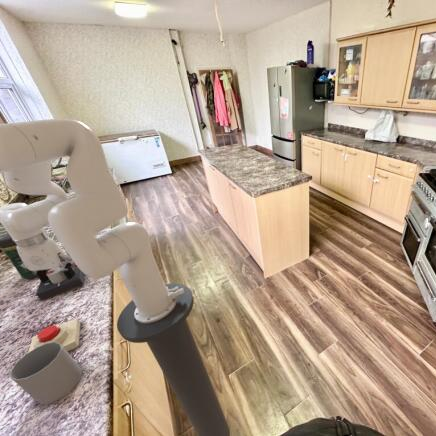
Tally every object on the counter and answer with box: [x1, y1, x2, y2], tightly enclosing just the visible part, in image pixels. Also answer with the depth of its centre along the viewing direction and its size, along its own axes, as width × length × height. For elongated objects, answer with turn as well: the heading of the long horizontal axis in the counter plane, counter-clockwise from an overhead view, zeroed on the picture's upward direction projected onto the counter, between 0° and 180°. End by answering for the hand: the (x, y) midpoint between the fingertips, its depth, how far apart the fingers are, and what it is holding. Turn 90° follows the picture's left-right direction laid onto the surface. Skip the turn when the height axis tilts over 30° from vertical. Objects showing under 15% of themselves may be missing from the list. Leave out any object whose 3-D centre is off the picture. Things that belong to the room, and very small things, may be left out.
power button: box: [37, 324, 60, 342], centre depth 64 cm, size 4×4×2 cm
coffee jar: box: [0, 232, 48, 280], centre depth 92 cm, size 10×8×19 cm
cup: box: [9, 342, 83, 406], centre depth 54 cm, size 8×8×10 cm
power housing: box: [27, 317, 81, 353], centre depth 65 cm, size 10×10×4 cm
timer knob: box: [46, 267, 67, 284], centre depth 86 cm, size 4×4×4 cm
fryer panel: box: [35, 267, 85, 301], centre depth 87 cm, size 12×9×3 cm
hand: (59, 278), depth 86 cm, fingers open, 8 cm apart
